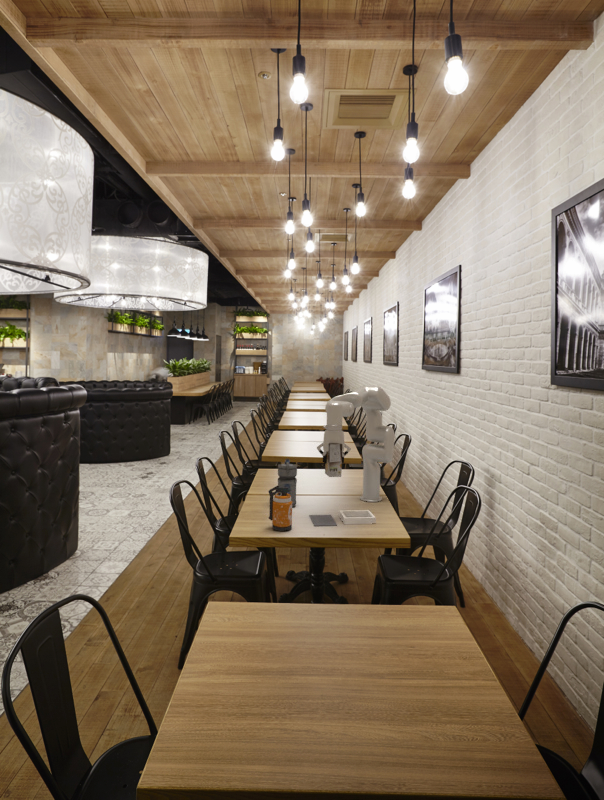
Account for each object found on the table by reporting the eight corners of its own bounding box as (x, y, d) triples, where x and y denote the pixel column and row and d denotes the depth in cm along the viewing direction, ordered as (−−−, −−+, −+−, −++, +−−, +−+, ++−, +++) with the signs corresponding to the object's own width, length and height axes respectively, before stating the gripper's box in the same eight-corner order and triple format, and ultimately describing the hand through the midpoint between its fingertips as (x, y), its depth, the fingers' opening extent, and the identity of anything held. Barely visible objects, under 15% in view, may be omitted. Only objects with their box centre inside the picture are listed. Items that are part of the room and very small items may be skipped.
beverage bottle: (295, 501, 278) (296, 457, 276) (296, 509, 265) (297, 462, 263) (277, 501, 278) (278, 456, 276) (277, 508, 264) (277, 461, 262)
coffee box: (341, 477, 242) (342, 443, 240) (329, 477, 240) (329, 444, 239) (336, 472, 250) (337, 440, 249) (324, 473, 249) (325, 440, 248)
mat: (309, 515, 254) (309, 515, 254) (330, 515, 255) (330, 514, 255) (314, 526, 238) (314, 525, 238) (337, 525, 239) (337, 524, 239)
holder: (338, 516, 254) (339, 510, 254) (368, 515, 256) (368, 510, 256) (344, 524, 242) (344, 518, 241) (375, 523, 244) (375, 517, 243)
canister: (289, 532, 228) (290, 489, 227) (265, 530, 230) (266, 487, 229) (293, 526, 237) (294, 484, 235) (270, 524, 239) (271, 482, 238)
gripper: (315, 428, 241) (314, 465, 242) (352, 429, 239) (351, 466, 240) (316, 426, 248) (315, 461, 249) (352, 427, 246) (351, 463, 248)
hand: (333, 463), depth 245 cm, fingers closed on coffee box, 7 cm apart
